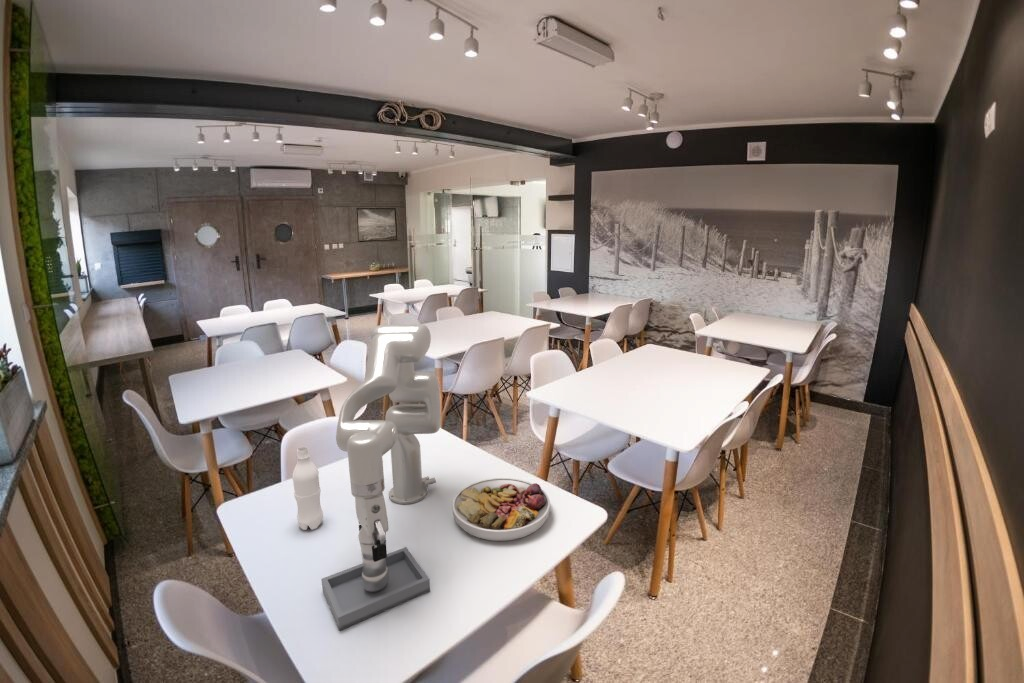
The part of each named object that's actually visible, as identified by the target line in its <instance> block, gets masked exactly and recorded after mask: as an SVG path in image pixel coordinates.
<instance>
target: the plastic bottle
mask: <svg viewBox="0 0 1024 683" xmlns="http://www.w3.org/2000/svg"><path fill="white" fill-rule="evenodd" d="M358 532H359V533H358V541H359V545H360V550H361V557H362V563H363V571H362V579H361V581H362V585H363V588H364V589H365V590H367V591H368V592H377V591H380V590H382V589H383V588H384V587H385V586H386V585H387V583H388V579H389V573H388V568H387V566H386V559H385V558H384V559H381V560H379V561H376V562H374V561H373V555H372V546H373V543H372V539H371V537H369V536H368V535H367V534H366V532H365V531H364V529H363V528H361V529H360V531H359V530H358ZM376 532H377V531H376V530H374V531H373V533H376ZM385 535H386V536H387V532H385ZM374 537H375V540H376V541H377V540H379V539H378V535H376V536H374Z"/></svg>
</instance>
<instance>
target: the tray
mask: <svg viewBox="0 0 1024 683" xmlns="http://www.w3.org/2000/svg"><path fill="white" fill-rule="evenodd" d="M385 559H386V566H387V568H388V573H389V579H388V583H387V585H386V586H385V587H384V588H383V589H382V590H380V591H377V592H368V591H367V590H365V589H364V588H363V585H362V581H361V579H362V571H363V562H361V563H359V564H356V565H355V566H352V567H349V568H346V569H344V570H342V571H339V572H338V571H337V572H335V573H333V574H330V575H328V576H325V577H323V578H321V586H322V587H321V588H322V592H323V596H324V597H325V599H326V602H327V605H328V608H329V609H331V610H330V612H331V613H332V617H333V619H334V621H335V624H336V627H337V628H338V631H339V632H340V631H343V630H345V629H348V628H349V627H351V626H354V625H357V624H358V623H362V622H363V621H366V620H368V619H369V618H372V617H375V616H376V615H380V614H382V613H384V612H386V611H388V610H390V609H393V608H395V607H397V606H400V605H401V604H404V603H407V602H409V601H411V600H413V599H416V598H418V597H421V596H422V595H425V594H427V593H429V592H431V583H430V578H429V576H428V574H426V572H425V570H424V569H423V568H422V566H421V565H420V564H419V562H418V561H417V559H416V558H415V557H414V555H412V553H411V552H410V550H409V549H408V548H407V546H405V547H402V548H399V549H397V550H395V551H394V550H393V551H392V552H389V553H388V552H387V557H386V558H385Z"/></svg>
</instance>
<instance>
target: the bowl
mask: <svg viewBox="0 0 1024 683" xmlns="http://www.w3.org/2000/svg"><path fill="white" fill-rule="evenodd" d="M451 505H452V507H451V509H452V514H453V518H454V520H455V522H456V523H457V525H458V526H459V527H460V528H461V529H462V530H463V531H465V532H466V533H468V534H469V535H471V536H474V537H476V538H479V539H483V540H486V541H495V542H496V541H497V542H504V541H505V542H507V541H513V540H518V539H521V538H524V537H528V536H529V535H531V534H533V533H535V532H536V531H537V530H539V529H540V528H541V527H542V526H543V525H544V524H545V522H546V521H547V519H548V518H549V515H550V510H551V500H550V497H549V496H548V494H547V493H546V492H545V491H544V490H543V489H542V487H541V486H540V484H538V483H537V482H536V483H532V482H529V481H526V480H522V479H519V478H511V477H495V478H494V477H493V478H487V479H486V478H485V479H481V480H479V481H475V482H473V483H471V484H469V485H467V486H464V487H463V488H461V490H459V491H458V493H457V494H456V495H455V496H454V498H453V500H452V504H451Z"/></svg>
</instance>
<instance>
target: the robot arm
mask: <svg viewBox="0 0 1024 683" xmlns="http://www.w3.org/2000/svg"><path fill="white" fill-rule="evenodd" d="M431 340H432V337H431V332H430V329H429V327H428V326H426V324H425V325H424V324H419V323H418V324H417V323H416V324H398V323H397V324H379V325H376V326H374V327H372V328H371V330H370V343H369V348H368V354H367V360H366V366H365V371H364V380H363V381H362V383H360V385H358V386H357V387H356V388H355V389H354V390H353V391H352V392H351V393H350V394H349V395H348V396H347V398H346V399H345V400H344V402H343V404H342V406H341V408H340V410H339V416H338V422H337V427H336V433H335V434H336V435H335V440H336V441H335V442H336V444H337V447H338V449H339V450H341V451H343V452H347V459H348V468H349V469H348V470H349V481H350V482H349V483H350V491H351V495H352V496H353V497H354V500H355V502H354V503H355V512H356V514H355V515H356V518H357V520H358V524H359V525H358V532H359V531H360V529H361V528H363V529H364V531H365V532H366V534H367V535H368V536H369V537H371V539H372V543H373V546H372V555H373V561H374V562H376V561H379V560H381V559H384V558H386V557H387V554H388V551H387V539H386V538H387V537H386V536H387V534H386V535H385V532H386V533H387V532H388V531H389V520H388V515H387V513H388V512H387V507H386V506H387V505H386V500H385V497H384V493H383V492H384V490H385V488H386V487H385V477H384V476H385V475H384V461H383V456H384V455H385V454H386V453H388V452H389V451H390V459H391V461H390V462H391V472H392V474H391V475H392V488H391V489H390V490H389V491H388V498H389V500H390V501H391V502H393V503H395V504H400V505H409V504H415V503H418V502H420V501H422V500H423V499H424V498H425V497H427V494H428V487H429V486H430V485H435V484H436V483H437V478H436V477H431V478H430V477H429V476H426V477H425V476H424V477H423V475H422V474H423V473H422V472H423V471H422V457H421V456H422V455H421V451H422V450H421V444H420V441H419V439H418V437H417V436H416V435H429V434H431V435H432V434H436V433H438V432H439V430H440V429H441V426H442V425H441V424H442V413H441V412H442V411H441V409H442V408H441V397H440V396H441V395H440V384H439V379H438V377H437V375H435V373H432V372H427V371H426V372H416V371H415V364H414V363H419V362H422V361H423V359H424V357H425V356H426V355H427V353H428V351H429V349H430V346H431ZM387 395H388V397H389V399H390V400H391V401H392V402H394V403H400V404H394V405H392V406H390V407H389V408H388V409H387V410H386V413H385V418H384V419H379V420H378V419H376V420H373V419H372V420H371V419H370V420H369V419H367V420H366V419H365V420H360V419H359V420H354V419H355V417H356V415H357V413H358V412H359V411H360V410H361V409H362V408H363V407H365V406H366V405H369V403H372V402H374V401H376V400H378V399H381V398H383V397H385V396H387ZM401 403H402V404H401ZM417 403H418V404H417ZM374 530H376V531H377V532H376V533H373V531H374ZM376 535H378V539H379V540H377V541H376V540H375V537H374V536H376Z"/></svg>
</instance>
